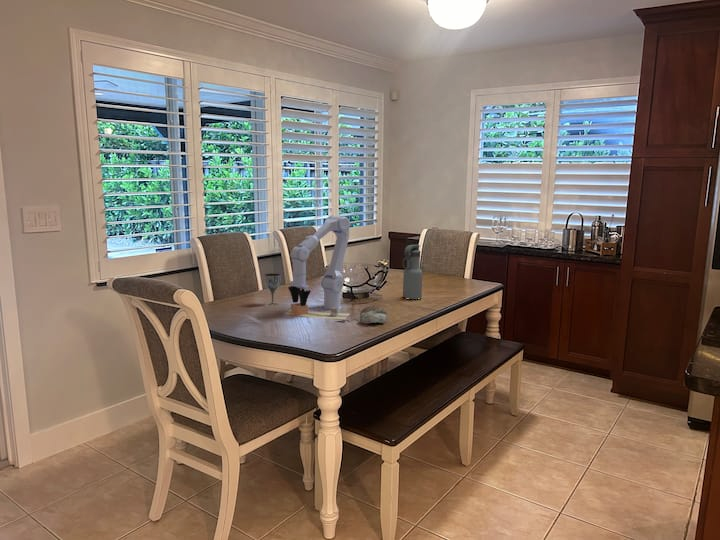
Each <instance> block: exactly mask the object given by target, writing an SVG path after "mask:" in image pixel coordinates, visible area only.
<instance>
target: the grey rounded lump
mask: <svg viewBox="0 0 720 540" xmlns="http://www.w3.org/2000/svg"><path fill="white" fill-rule="evenodd" d="M387 314H388V312H387V310H385V308H382V307H379V306H375V305H373V306H370V305H367V306H366V307H364V308H363V309H362V310H361V311H360V313H359V321H360V322H361V324H363V323H364V325H365V324H367V325H368V324H372V323H375V324H376V323H379V324H384V322H385V323H386V322H387V318H388V316H387Z"/></svg>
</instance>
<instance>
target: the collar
mask: <svg viewBox="0 0 720 540" xmlns="http://www.w3.org/2000/svg"><path fill="white" fill-rule="evenodd" d="M297 305H300V306H297ZM290 310H291V313H293V314H295V315H303V314H308V311H309V305H308V304H306V306H301V304H300V302H295V303H290Z"/></svg>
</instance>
